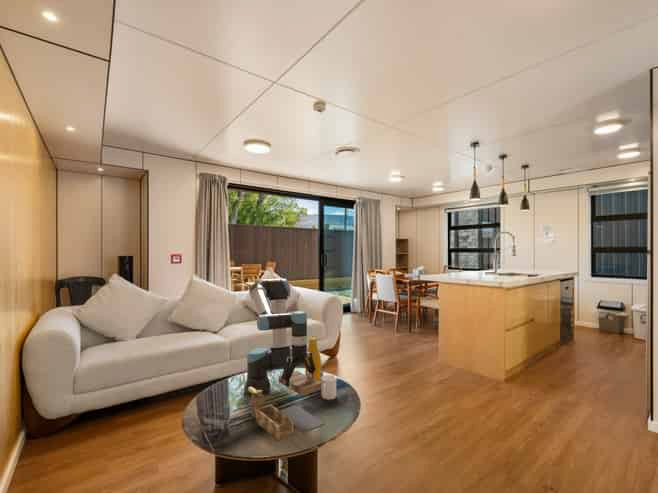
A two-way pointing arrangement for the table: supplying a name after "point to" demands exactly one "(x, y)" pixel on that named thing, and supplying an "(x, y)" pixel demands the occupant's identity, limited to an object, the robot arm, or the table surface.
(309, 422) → the felt mat
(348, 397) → the table surface
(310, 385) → the lid
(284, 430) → the toolbox
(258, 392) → the key
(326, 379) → the mug
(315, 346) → the beer bottle
